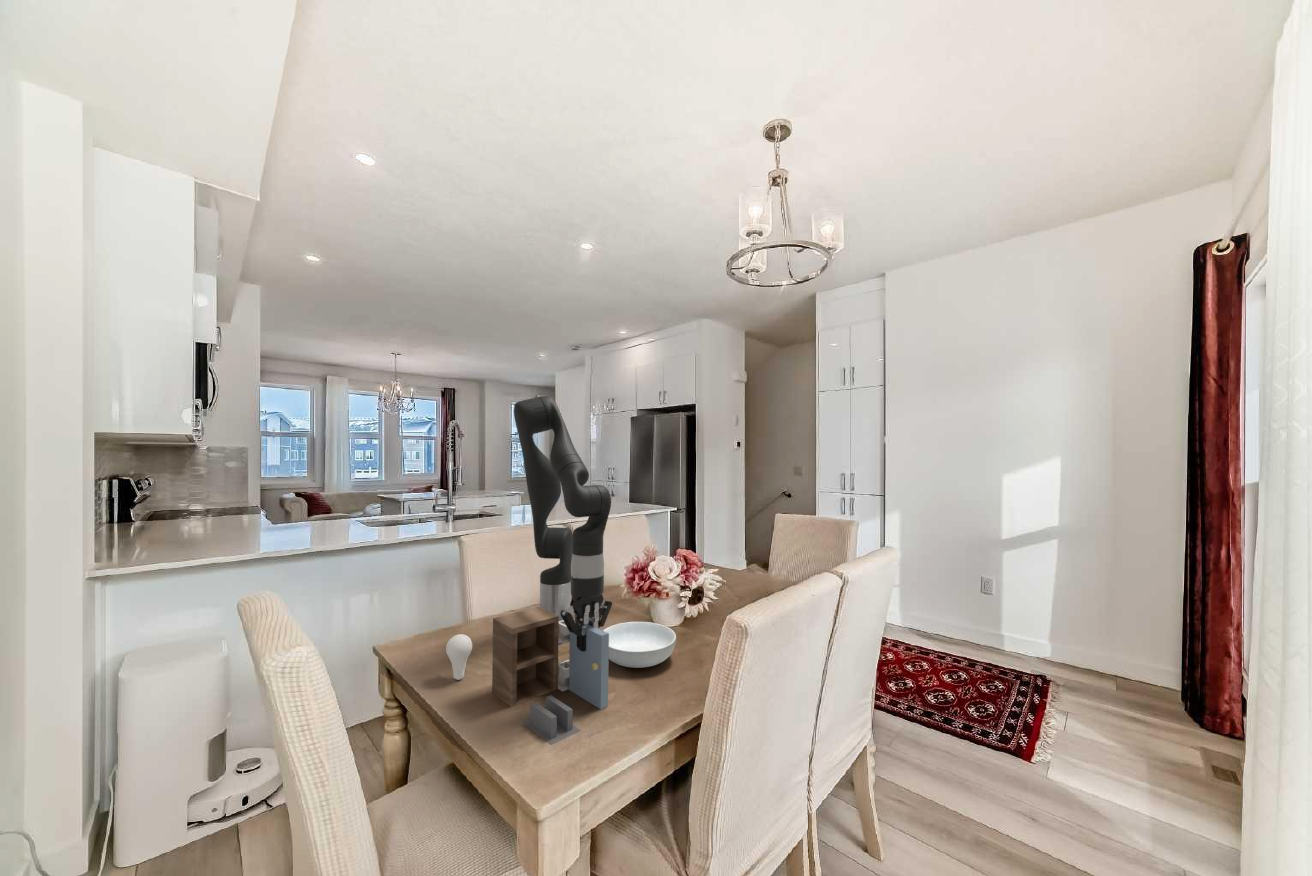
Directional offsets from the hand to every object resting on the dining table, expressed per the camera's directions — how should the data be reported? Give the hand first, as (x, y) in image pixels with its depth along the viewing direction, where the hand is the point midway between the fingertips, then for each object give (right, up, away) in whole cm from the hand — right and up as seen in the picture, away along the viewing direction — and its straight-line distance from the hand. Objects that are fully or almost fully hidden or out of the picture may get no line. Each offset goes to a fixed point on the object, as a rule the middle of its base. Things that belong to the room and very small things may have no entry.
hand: (586, 648), depth 116 cm
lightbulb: (-33, -12, +10) cm, 37 cm away
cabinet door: (-1, -11, +1) cm, 11 cm away
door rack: (-6, -12, -12) cm, 18 cm away
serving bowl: (+11, -13, +22) cm, 28 cm away
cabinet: (-12, -12, +4) cm, 17 cm away
